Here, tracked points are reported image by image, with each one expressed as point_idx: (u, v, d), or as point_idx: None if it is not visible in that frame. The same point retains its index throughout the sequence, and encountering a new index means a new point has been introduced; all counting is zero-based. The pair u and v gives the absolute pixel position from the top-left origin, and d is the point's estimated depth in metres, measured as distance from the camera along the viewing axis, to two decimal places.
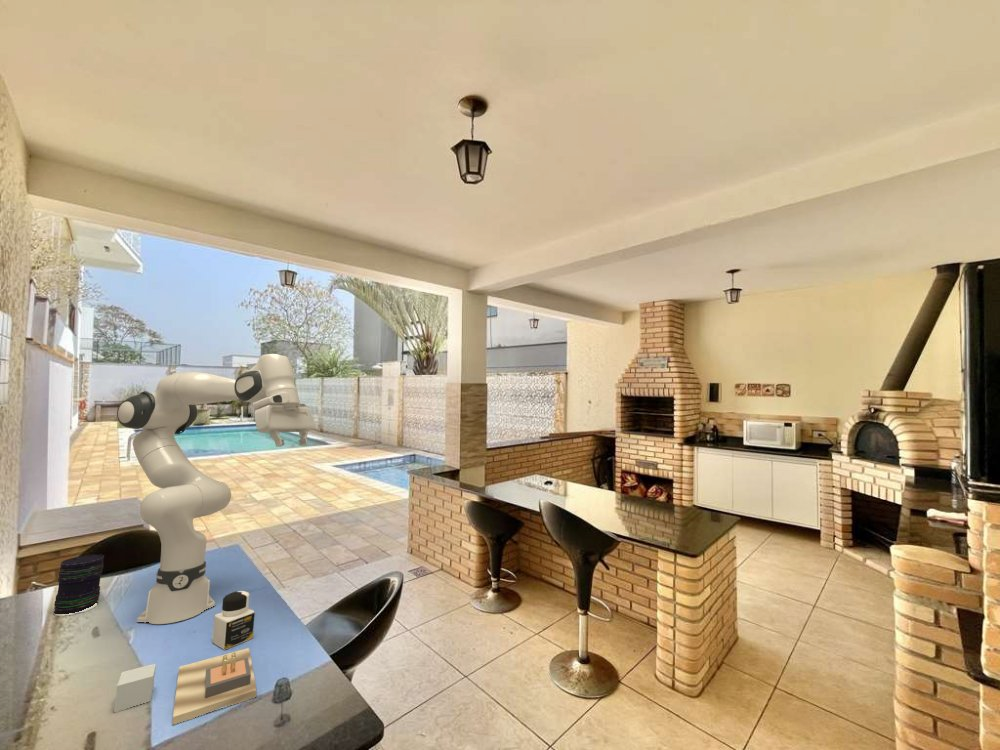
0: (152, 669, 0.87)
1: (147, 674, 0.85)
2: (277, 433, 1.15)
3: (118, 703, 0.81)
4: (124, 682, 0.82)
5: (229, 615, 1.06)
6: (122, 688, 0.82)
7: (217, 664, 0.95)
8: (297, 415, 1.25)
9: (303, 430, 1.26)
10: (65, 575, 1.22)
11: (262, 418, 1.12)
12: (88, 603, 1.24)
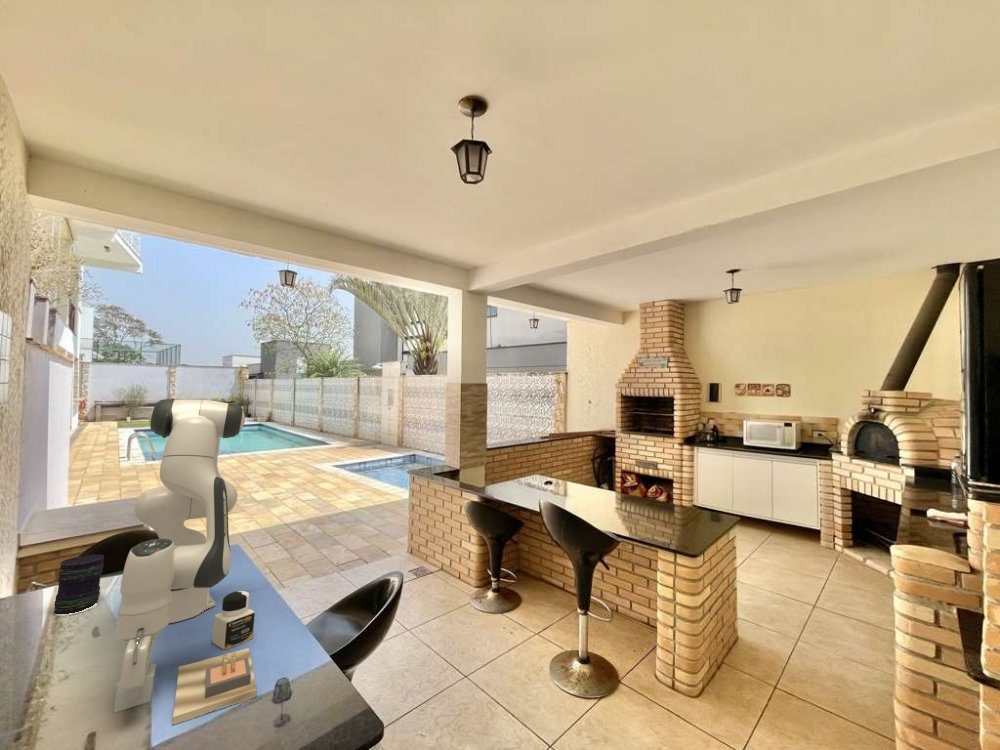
0: (152, 669, 0.87)
1: (147, 674, 0.85)
2: None
3: (118, 703, 0.81)
4: None
5: (229, 615, 1.06)
6: None
7: (217, 664, 0.95)
8: None
9: None
10: (65, 575, 1.22)
11: None
12: (88, 603, 1.24)
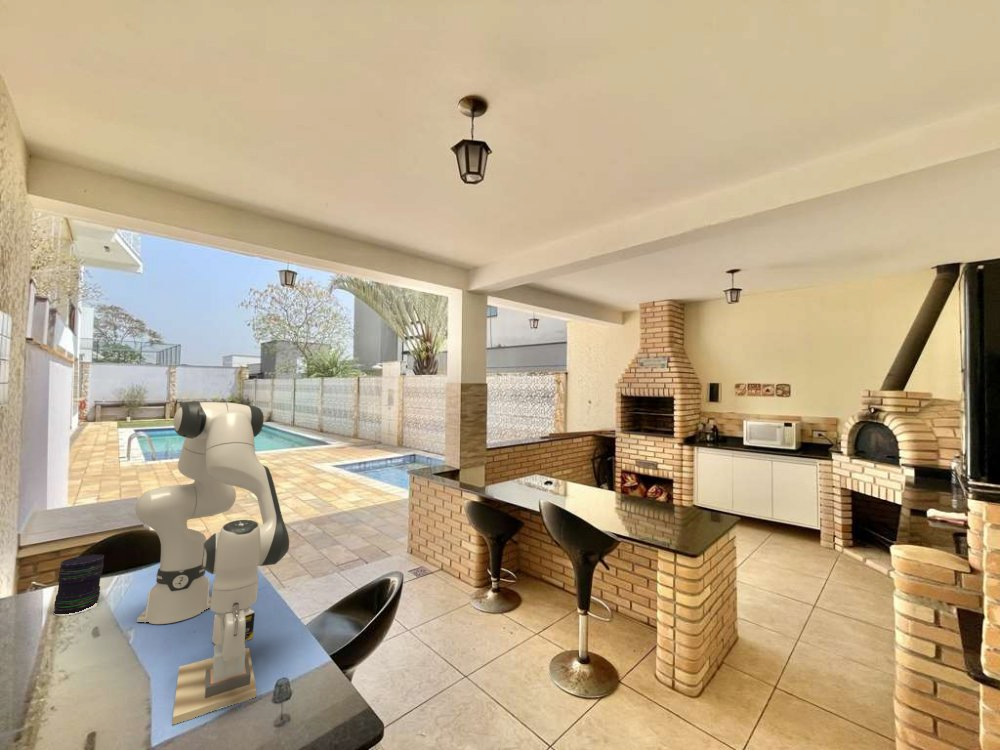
0: None
1: None
2: None
3: (216, 673, 0.85)
4: (220, 654, 0.87)
5: None
6: (219, 659, 0.86)
7: None
8: (225, 625, 0.87)
9: None
10: (65, 575, 1.22)
11: None
12: (88, 603, 1.24)
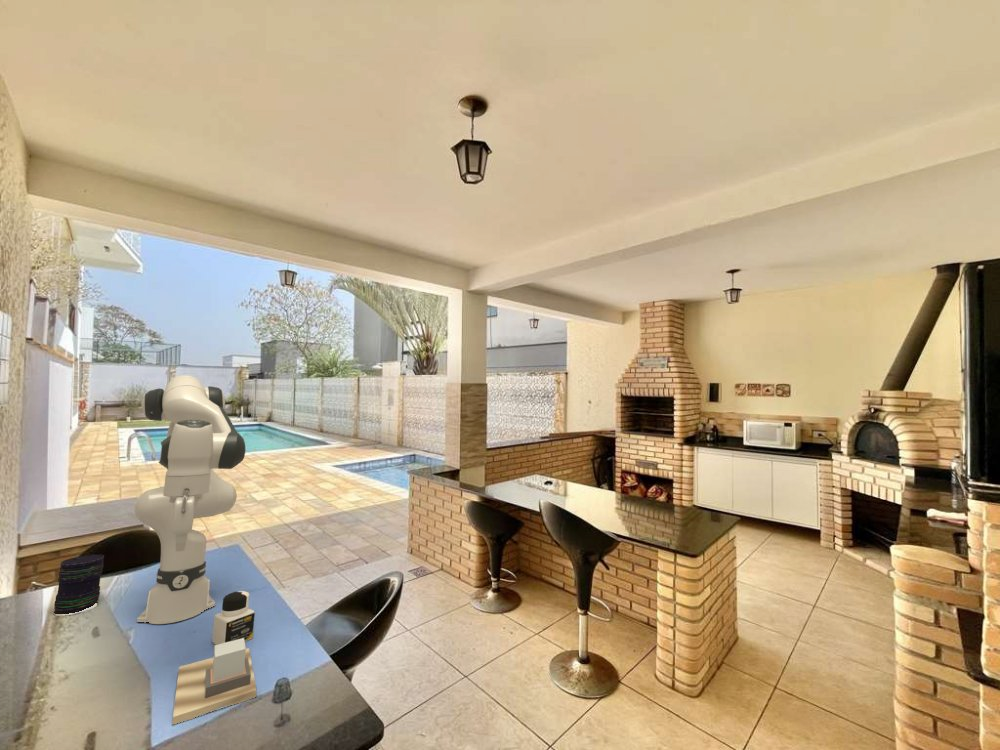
0: (242, 643, 0.91)
1: (240, 647, 0.89)
2: None
3: (216, 673, 0.85)
4: (220, 654, 0.87)
5: (229, 615, 1.06)
6: (219, 659, 0.86)
7: None
8: None
9: None
10: (65, 575, 1.22)
11: None
12: (88, 603, 1.24)
